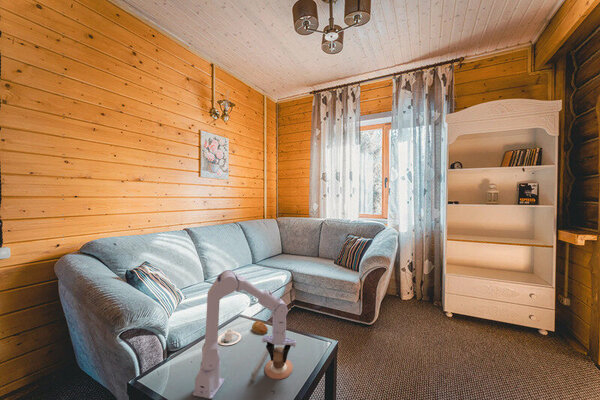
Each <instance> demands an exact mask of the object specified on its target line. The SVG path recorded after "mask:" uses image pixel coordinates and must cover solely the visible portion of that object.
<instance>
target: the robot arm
mask: <svg viewBox="0 0 600 400" xmlns="http://www.w3.org/2000/svg"><path fill="white" fill-rule="evenodd" d="M235 291H236V293H240V292H242V291H244V292H246V293H248V294H249V295H251V296H253V297H254V298H256V299H257V302H258V304H259V305H261V306H263V308H265V309H267V310H269V311H270V312H272V334H271V335H263V337H262V338H261V342H262V343H263V344H264V343H266V345H265V349H266V348H267V350H268V352H269V354H268V355H269V357H270V360H271V361H273V349H274V348H275V346H284V347H283V348H284V349H283V351H284V363H286V360H288V359H287V358H288V354H289V351H290V350H291V347H293V348H296V347H297V346H296V345H297V340H295V339H293V338H290V337H287V315H288V312H289V309H288V306H287V304H286V303H285V302H284V300H283V299H282V298H280V297H277V296H275V295H274V294H273V292H272V291H271V290H261V289H259V288H258V287H257V286H255V285H254V284H253V283H252V282H250V281H249V280H247V279H246V278H245V277H243V276H242V275H240V274H238V273H235V272H234V271H233V270H231V269H226V270H223V271H222V272H221V273H220V274H217V277H216V278H215V281H213V283H212V285H211V286H210V288H209V289H208V291H207V293H206V294H207V295H206V299H207V300H206V315H205V316H206V319H205V320H206V321H205V337H204V343H203V345H202V347H201V354H202V355H201V362H200V367H199V371H198V373H197V375H196V376H195V379H194V392H193V393H192V395H193V396H195V397H200V398H205V399H211V400H212V399H214V396H215V395H216V394H217V392H218V391H219V389H220V388H221V386H222V385H223V384H224V382H225V380H226V379H225V378H222V377H221V358H220V354H219V353H220V352H219V348H220V347H219V345H220V344H219V343H218V337H219V320H220V319H219V317H220V301H221V300H222V298H224V297H226V296H229V295H230V294H232V293H234V292H235Z"/></svg>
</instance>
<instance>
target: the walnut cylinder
mask: <svg viewBox="0 0 600 400" xmlns="http://www.w3.org/2000/svg"><path fill="white" fill-rule="evenodd" d="M283 349H284V347H283V346H276V347H274V349H273V366H274V367H275V368H282V367H283V366H284V365H285V363H284V351H283Z"/></svg>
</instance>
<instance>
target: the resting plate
mask: <svg viewBox="0 0 600 400" xmlns="http://www.w3.org/2000/svg"><path fill="white" fill-rule="evenodd" d="M293 369H294V366H293V363H292V361H290V360H289V359H287V360H286V363H285V365H284V366H283V367H282V368H275V367H274V366H273V361H271V359H270V360H268V361H267V362H266V363H265V364H264V373H265V375H266V376H267V377H268V378H270V379H272V380H283V379H285V378H288V377H289V376H290V375H292V373H293V371H294V370H293Z"/></svg>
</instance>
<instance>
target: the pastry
mask: <svg viewBox="0 0 600 400" xmlns="http://www.w3.org/2000/svg"><path fill="white" fill-rule="evenodd" d="M251 330H252V331H253V332H254V333H256V332H257V333H256V334H259V333H260V334H259V335H265V334H266V333H268V331H269V329H268V327H267V324H265V322H263V321H260V320H256V321H254V323H253V324H252V326H251Z"/></svg>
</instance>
